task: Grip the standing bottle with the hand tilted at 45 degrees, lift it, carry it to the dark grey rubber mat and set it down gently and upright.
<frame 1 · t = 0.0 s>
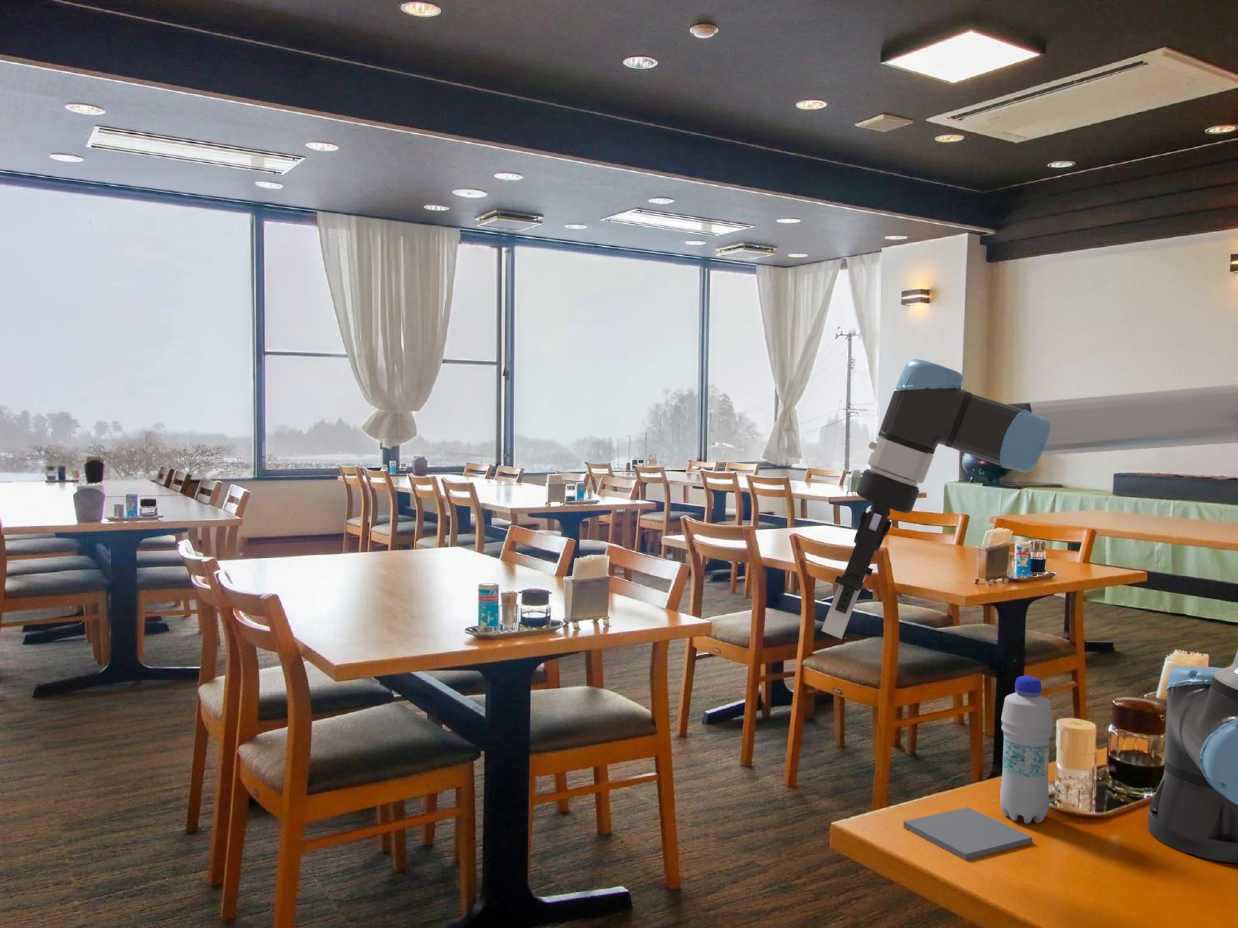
hand: (835, 624, 130), 28 cm above the table, tool tilted 20°, fingers open, 13 cm apart
mat: (966, 834, 130), on the table
bottle: (1023, 818, 136), on the table
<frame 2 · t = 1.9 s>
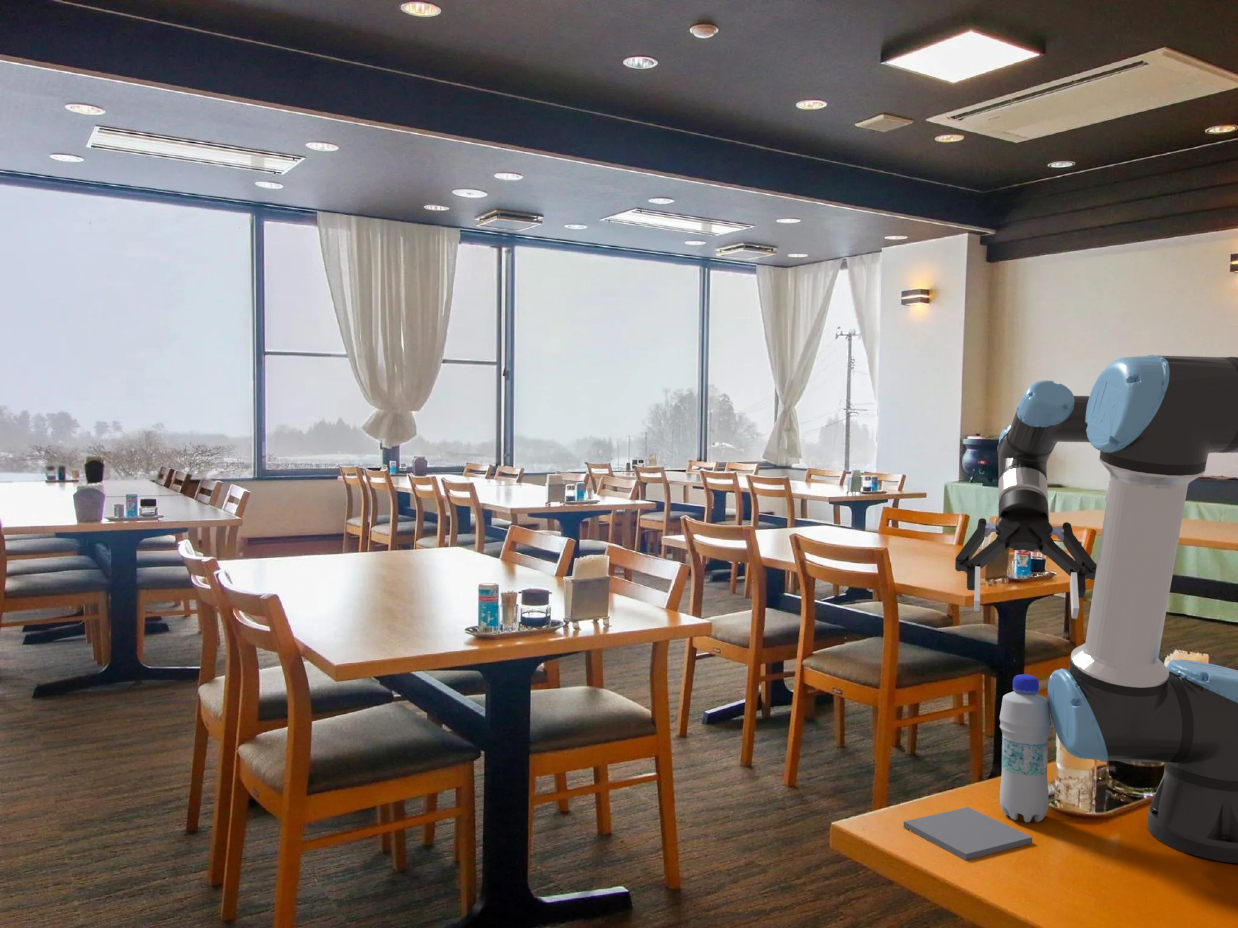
hand: (1025, 609, 145), 27 cm above the table, tool tilted 45°, fingers open, 13 cm apart
nothing on the table moved.
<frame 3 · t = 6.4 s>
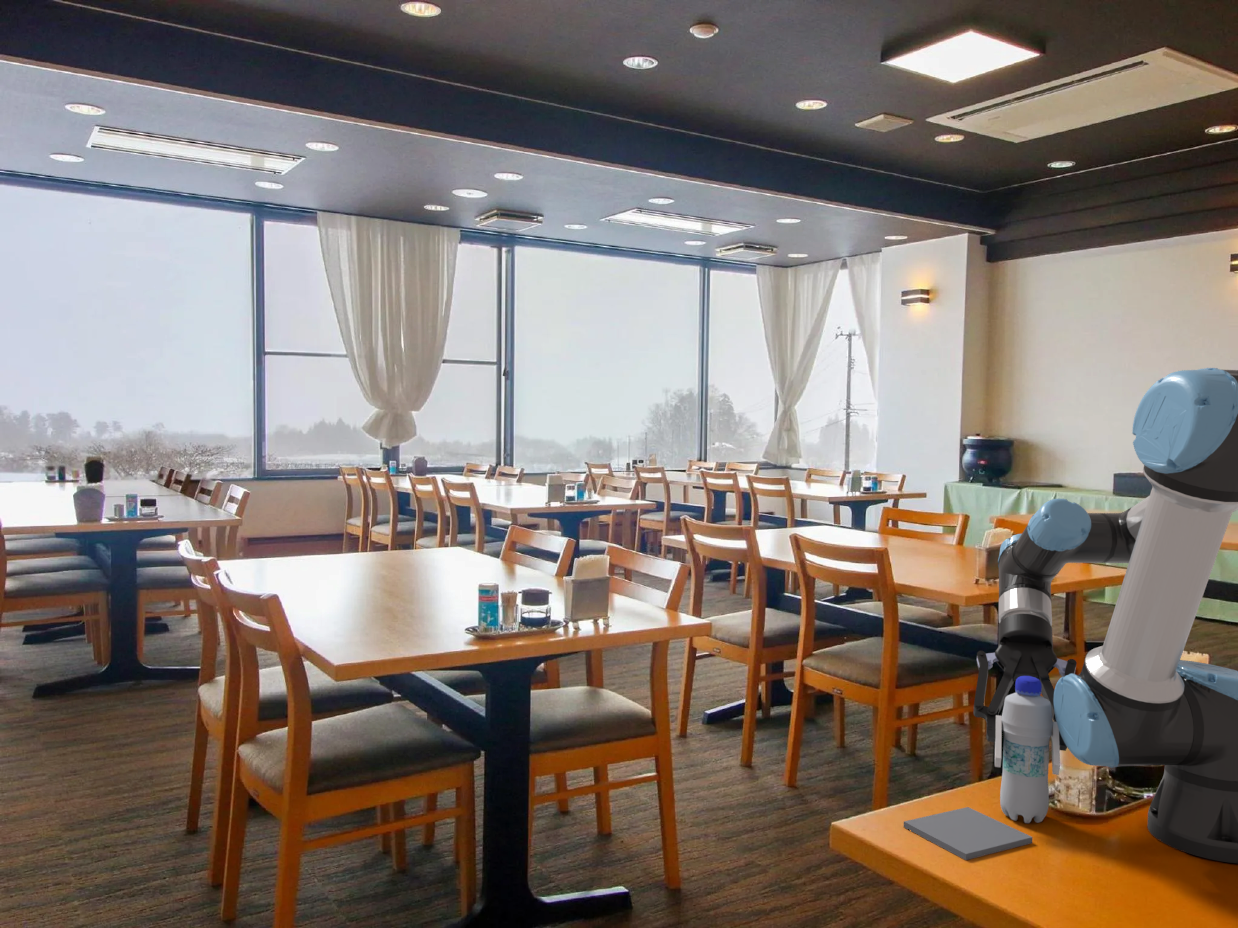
hand: (1026, 765, 132), 8 cm above the table, tool tilted 45°, fingers closed on bottle, 7 cm apart
bottle: (1023, 818, 136), on the table, touching gripper
when the fingers open (10 cm above the table, at t = 12.8 s): bottle stays where it is, resting on mat.
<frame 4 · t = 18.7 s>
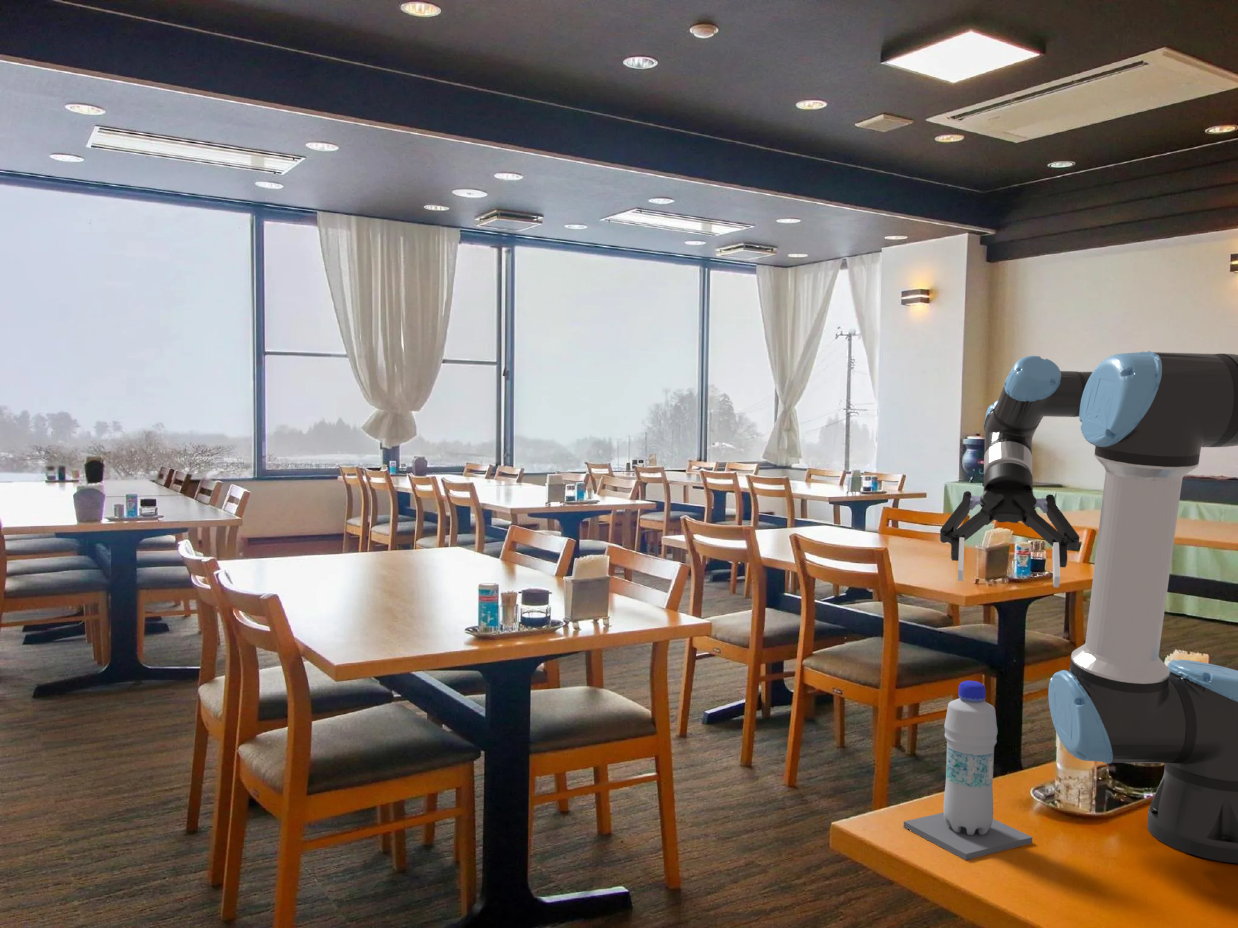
hand: (1007, 578, 147), 32 cm above the table, tool tilted 45°, fingers open, 13 cm apart
bottle: (967, 830, 130), point 1 cm above the table, touching mat
at the end: bottle inside the target area on the mat (0.1 cm from its centre), point 0.6 cm above the mat's base; bottle tilted 0°; the gripper is holding nothing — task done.
